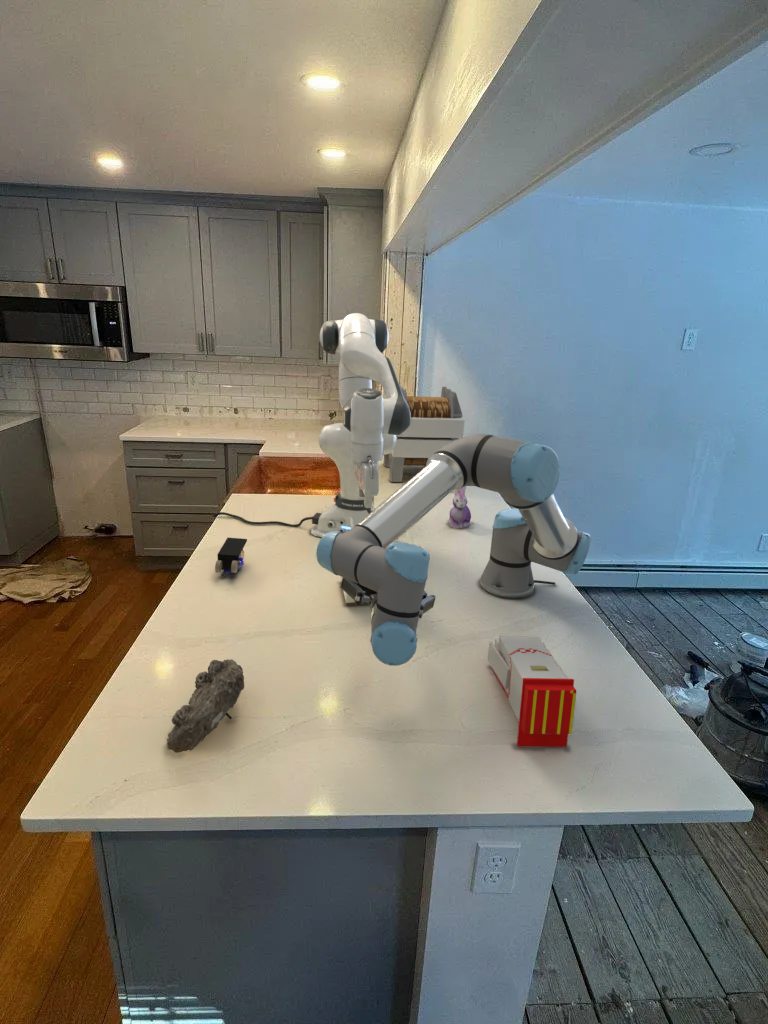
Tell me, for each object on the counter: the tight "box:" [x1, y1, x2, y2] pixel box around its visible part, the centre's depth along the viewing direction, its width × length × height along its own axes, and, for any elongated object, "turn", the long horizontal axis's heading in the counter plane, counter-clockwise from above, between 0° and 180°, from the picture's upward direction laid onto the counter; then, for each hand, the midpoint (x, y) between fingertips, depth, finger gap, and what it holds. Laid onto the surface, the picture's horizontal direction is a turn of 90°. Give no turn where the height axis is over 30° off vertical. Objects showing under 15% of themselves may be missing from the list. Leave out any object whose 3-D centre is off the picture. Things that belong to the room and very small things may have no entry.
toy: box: [486, 635, 577, 748], centre depth 115 cm, size 12×13×30 cm
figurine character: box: [214, 537, 248, 578], centre depth 166 cm, size 7×8×15 cm
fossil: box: [166, 658, 245, 754], centre depth 106 cm, size 22×10×15 cm
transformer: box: [383, 385, 465, 483], centre depth 268 cm, size 34×33×41 cm
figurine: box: [448, 486, 472, 529], centre depth 208 cm, size 9×10×15 cm
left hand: (364, 501), depth 154 cm, fingers open, 8 cm apart
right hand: (387, 580), depth 128 cm, fingers open, 13 cm apart
